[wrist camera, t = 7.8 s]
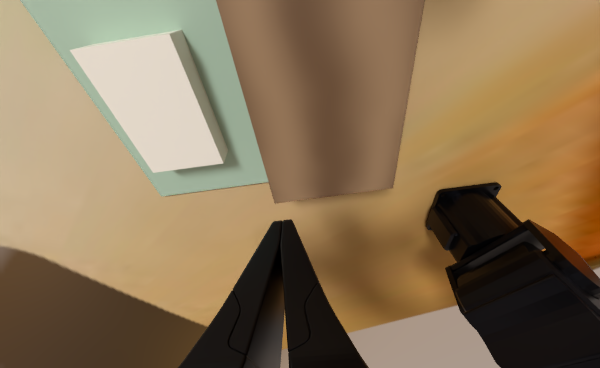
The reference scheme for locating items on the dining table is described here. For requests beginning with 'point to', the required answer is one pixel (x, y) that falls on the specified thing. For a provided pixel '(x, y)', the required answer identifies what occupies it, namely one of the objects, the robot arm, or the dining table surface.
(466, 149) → the dining table surface
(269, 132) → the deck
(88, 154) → the dining table surface
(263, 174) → the mat
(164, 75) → the white block
